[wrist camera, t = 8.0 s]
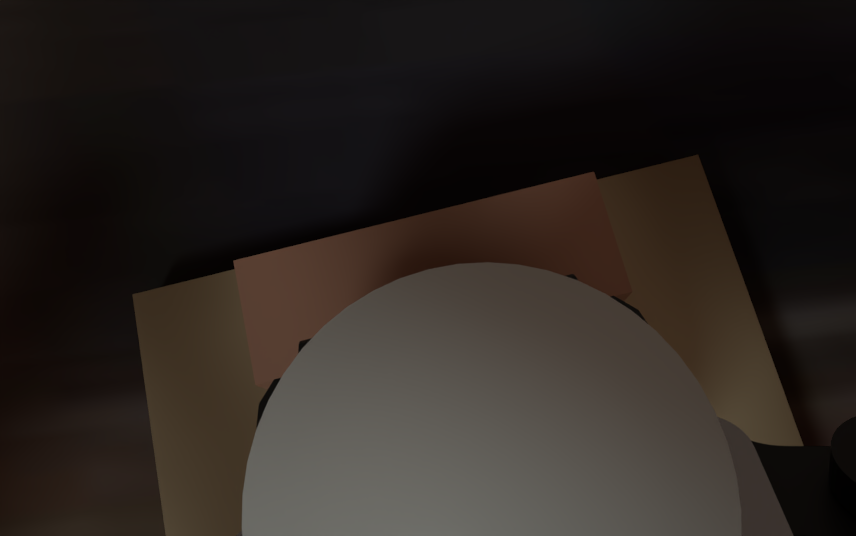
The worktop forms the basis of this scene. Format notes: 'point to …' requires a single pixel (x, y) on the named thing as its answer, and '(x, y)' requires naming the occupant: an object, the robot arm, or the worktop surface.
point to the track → (659, 292)
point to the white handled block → (489, 419)
